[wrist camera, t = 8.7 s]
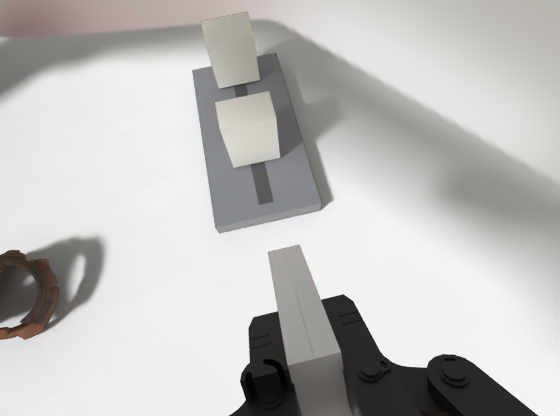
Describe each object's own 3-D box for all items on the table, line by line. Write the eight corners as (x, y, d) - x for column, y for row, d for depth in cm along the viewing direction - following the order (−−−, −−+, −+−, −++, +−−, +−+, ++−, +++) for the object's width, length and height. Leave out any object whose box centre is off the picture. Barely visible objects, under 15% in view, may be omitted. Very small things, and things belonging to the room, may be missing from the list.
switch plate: (320, 210, 38) (321, 203, 36) (219, 233, 37) (215, 227, 35) (272, 50, 49) (271, 38, 47) (194, 66, 48) (189, 54, 46)
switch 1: (260, 80, 43) (252, 31, 37) (218, 88, 43) (204, 41, 37) (255, 61, 45) (247, 11, 38) (215, 69, 44) (200, 21, 38)
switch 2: (280, 157, 38) (276, 117, 32) (233, 167, 38) (219, 129, 31) (274, 134, 40) (268, 90, 33) (229, 143, 39) (214, 102, 33)
